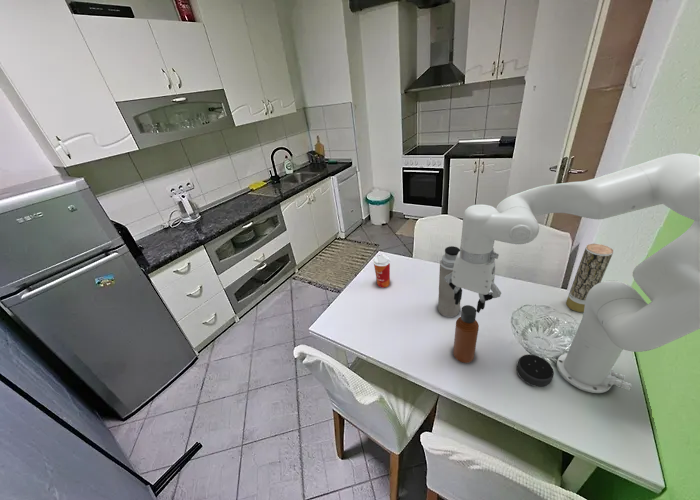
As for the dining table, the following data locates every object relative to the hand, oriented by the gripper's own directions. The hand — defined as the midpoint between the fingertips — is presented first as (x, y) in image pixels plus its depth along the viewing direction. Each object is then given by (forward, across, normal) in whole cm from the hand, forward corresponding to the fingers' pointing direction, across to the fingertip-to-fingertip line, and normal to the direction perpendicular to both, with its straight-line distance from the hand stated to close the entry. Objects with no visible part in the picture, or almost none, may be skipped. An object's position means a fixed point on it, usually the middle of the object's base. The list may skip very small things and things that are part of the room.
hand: (468, 305), depth 80 cm
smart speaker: (+22, -20, -4) cm, 29 cm away
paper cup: (+22, +42, -18) cm, 51 cm away
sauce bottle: (+22, 0, 0) cm, 22 cm away
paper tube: (+21, -26, -42) cm, 54 cm away
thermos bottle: (+22, +12, -17) cm, 30 cm away
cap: (+5, 0, 0) cm, 5 cm away
